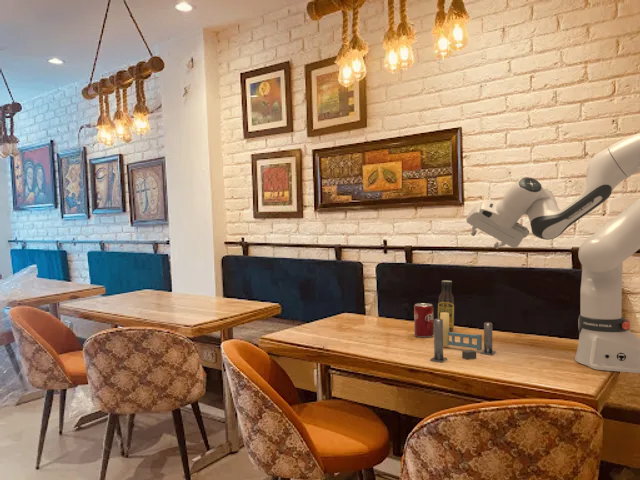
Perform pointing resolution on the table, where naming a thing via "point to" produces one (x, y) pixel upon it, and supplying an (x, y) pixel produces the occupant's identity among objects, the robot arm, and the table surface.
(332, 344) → the table surface
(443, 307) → the sauce bottle
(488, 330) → the hinge post
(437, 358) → the post
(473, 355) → the block
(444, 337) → the gate
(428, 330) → the soda can
